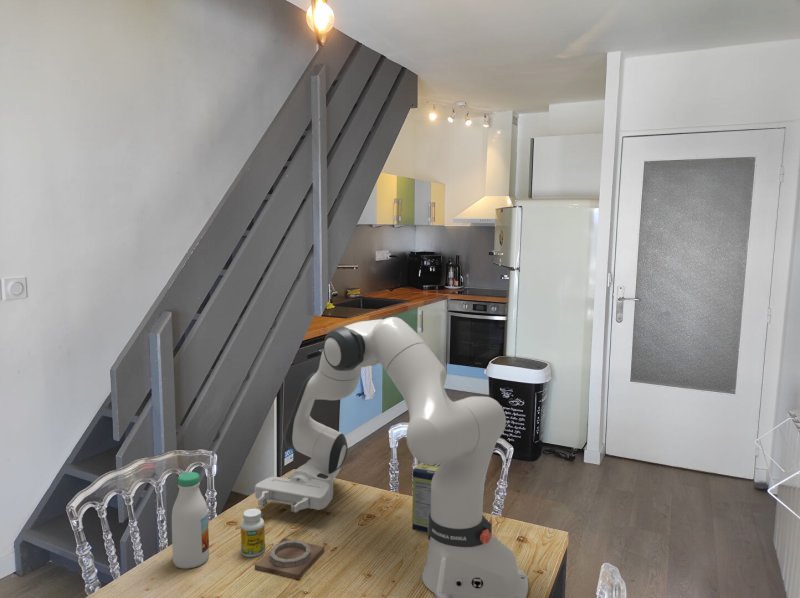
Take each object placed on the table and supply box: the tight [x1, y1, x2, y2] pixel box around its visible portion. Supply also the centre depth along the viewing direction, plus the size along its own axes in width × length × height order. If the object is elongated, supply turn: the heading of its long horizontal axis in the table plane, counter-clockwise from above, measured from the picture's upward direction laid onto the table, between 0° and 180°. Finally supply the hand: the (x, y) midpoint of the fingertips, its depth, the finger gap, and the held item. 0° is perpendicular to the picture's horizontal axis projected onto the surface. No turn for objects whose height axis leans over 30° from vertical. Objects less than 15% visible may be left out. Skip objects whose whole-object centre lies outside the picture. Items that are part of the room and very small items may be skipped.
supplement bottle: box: [240, 508, 266, 558], centre depth 132 cm, size 5×5×10 cm
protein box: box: [411, 462, 441, 533], centre depth 148 cm, size 10×16×16 cm
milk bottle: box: [171, 471, 210, 570], centre depth 128 cm, size 8×8×20 cm
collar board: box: [254, 537, 325, 580], centre depth 130 cm, size 11×12×2 cm
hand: (276, 506), depth 142 cm, fingers open, 8 cm apart
